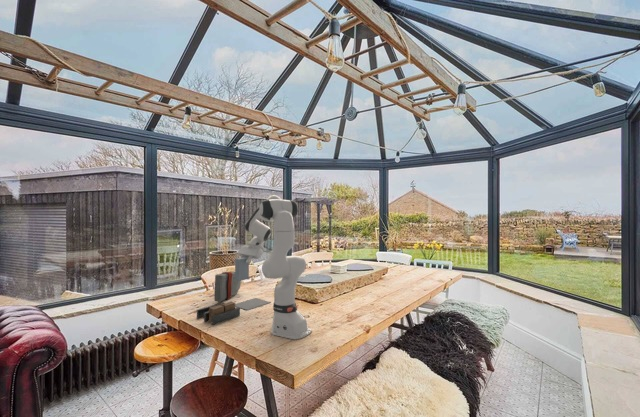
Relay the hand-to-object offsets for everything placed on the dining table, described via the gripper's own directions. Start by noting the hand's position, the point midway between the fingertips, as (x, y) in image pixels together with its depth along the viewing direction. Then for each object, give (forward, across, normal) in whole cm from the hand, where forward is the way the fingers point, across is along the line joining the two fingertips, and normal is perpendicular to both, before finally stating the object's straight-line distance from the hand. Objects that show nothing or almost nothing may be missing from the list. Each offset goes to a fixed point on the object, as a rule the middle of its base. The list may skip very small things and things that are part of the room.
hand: (243, 261), depth 194 cm
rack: (+36, +4, +6) cm, 37 cm away
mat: (+16, 0, +26) cm, 31 cm away
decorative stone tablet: (+17, -24, +26) cm, 39 cm away
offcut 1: (+39, +8, +3) cm, 40 cm away
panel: (+9, 0, +7) cm, 11 cm away
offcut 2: (+33, +8, +9) cm, 35 cm away
